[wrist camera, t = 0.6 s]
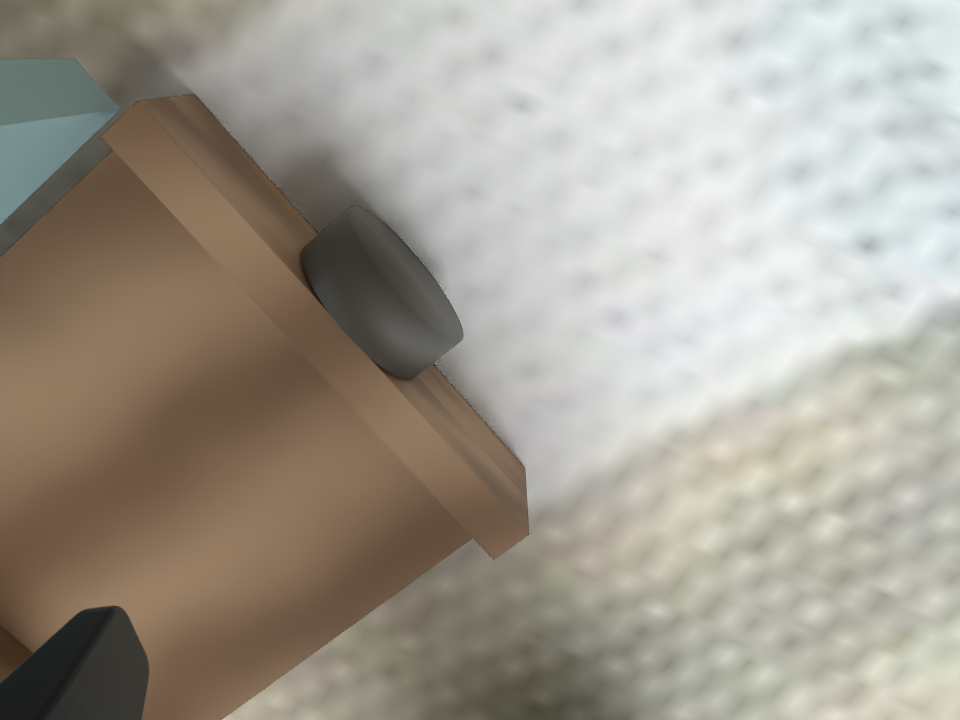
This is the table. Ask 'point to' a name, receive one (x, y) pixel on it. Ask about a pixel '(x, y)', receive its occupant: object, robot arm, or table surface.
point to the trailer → (225, 418)
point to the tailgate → (44, 122)
